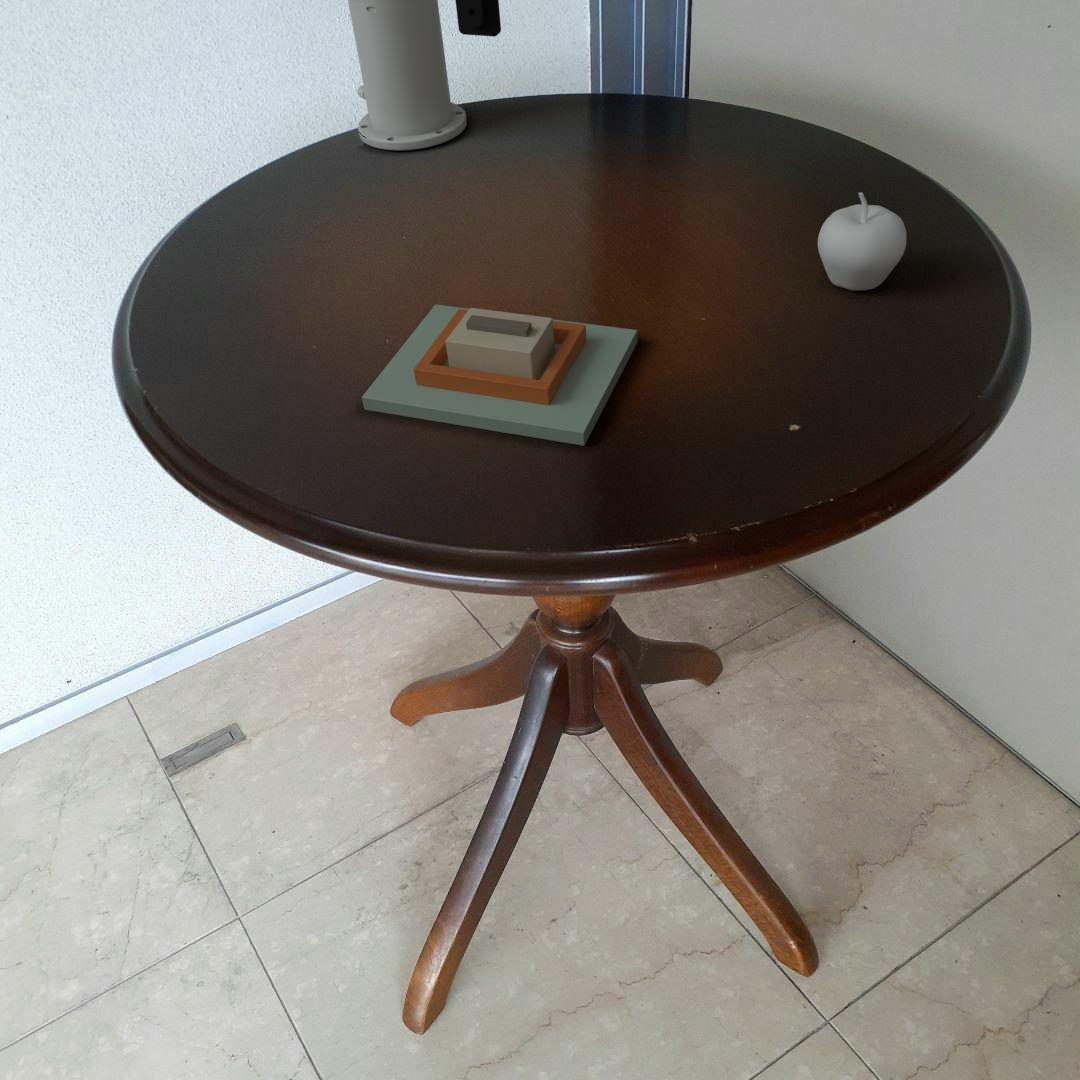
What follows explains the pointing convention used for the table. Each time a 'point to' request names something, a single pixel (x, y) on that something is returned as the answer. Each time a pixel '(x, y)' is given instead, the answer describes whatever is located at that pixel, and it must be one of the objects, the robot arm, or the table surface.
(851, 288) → the plain white apple
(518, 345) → the block
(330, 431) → the table surface
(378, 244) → the table surface
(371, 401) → the board
